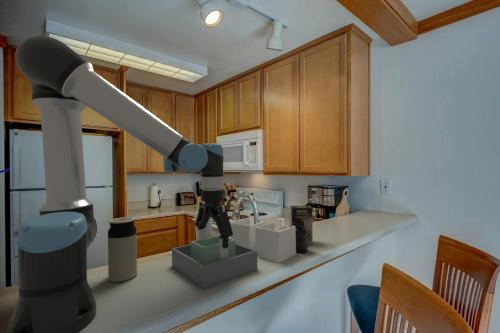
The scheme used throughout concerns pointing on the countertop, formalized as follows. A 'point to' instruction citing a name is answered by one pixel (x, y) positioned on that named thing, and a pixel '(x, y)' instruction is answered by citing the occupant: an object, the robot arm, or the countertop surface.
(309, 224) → the coffee box
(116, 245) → the travel mug
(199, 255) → the box
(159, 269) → the countertop surface
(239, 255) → the big crate
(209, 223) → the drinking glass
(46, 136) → the robot arm
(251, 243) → the white cubby shelf
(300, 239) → the supplement bottle
